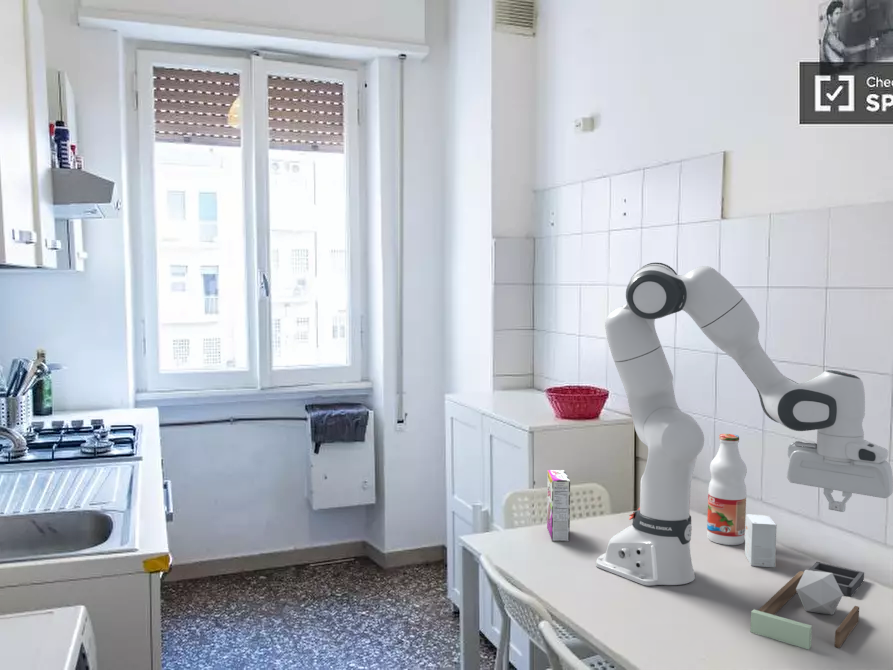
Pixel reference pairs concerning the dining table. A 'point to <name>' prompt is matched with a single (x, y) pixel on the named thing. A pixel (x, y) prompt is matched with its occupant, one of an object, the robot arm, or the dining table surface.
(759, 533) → the small box
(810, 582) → the die
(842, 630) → the lane walls
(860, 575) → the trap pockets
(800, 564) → the dining table surface
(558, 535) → the candy bar box
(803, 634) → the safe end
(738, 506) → the fruit juice
